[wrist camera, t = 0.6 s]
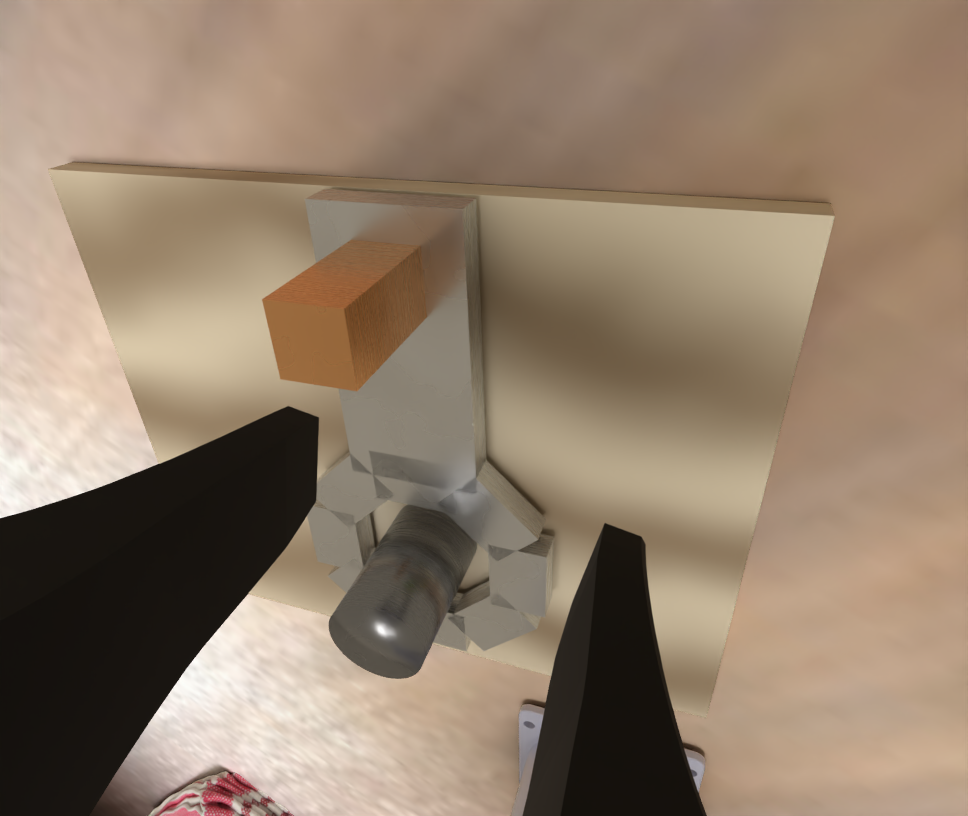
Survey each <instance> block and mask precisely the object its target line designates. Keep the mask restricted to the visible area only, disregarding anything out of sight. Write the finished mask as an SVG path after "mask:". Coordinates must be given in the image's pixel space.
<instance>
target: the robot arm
mask: <svg viewBox="0 0 968 816" xmlns="http://www.w3.org/2000/svg"><path fill="white" fill-rule="evenodd" d="M318 435H319V417H317V416H314V415H312V414H309V413H306V412H303V411H301V410H298V409H295V408H293V407H290V406H287V407H285V408H282V409H280V410H278V411H275V412H273V413H271V414H269V415H267V416H264V417H262V418H260V419H258V420H256V421H254V422H252V423H249V424H247V425H245V426H243V427H241V428H239V429H237V430H234V431H232V432H230V433H228V434H226V435H224V436H222V437H219V438H217V439H215V440H213V441H210V442H208V443H206V444H204V445H201V446H199V447H197V448H195V449H193V450H190V451H188V452H186V453H184V454H181V455H179V456H177V457H175V458H172V459H170V460H167V461H165V462H162V463H160V464H157V465H155V466H152V467H150V468H148V469H145V470H143V471H140V472H138V473H135V474H133V475H130V476H128V477H125V478H123V479H120V480H118V481H115V482H113V483H110V484H107V485H105V486H102V487H99V488H96V489H94V490H91V491H88V492H85V493H82V494H79V495H76V496H73V497H70V498H67V499H64V500H61V501H58V502H55V503H52V504H48V505H45V506H42V507H39V508H36V509H32V510H29V511H26V512H22V513H19V514H15V515H11V516H7V517H4V518H0V816H89V815H90V813H91V812H92V810H93V809H94V807H95V805H96V804H97V802H98V801H99V799H100V797H101V796H102V794H103V793H104V791H105V789H106V788H107V786H108V785H109V783H110V781H111V780H112V778H113V777H114V775H115V773H116V772H117V770H118V769H119V767H120V766H121V764H122V763H123V761H124V760H125V758H126V757H127V755H128V754H129V752H130V751H131V749H132V748H133V746H134V745H135V743H136V742H137V740H138V739H139V737H140V735H141V734H142V732H143V731H144V729H145V728H146V726H147V725H148V723H149V722H150V720H151V719H152V717H153V716H154V714H155V713H156V712H157V710H158V709H159V707H160V706H161V704H162V703H163V701H164V700H165V699H166V697H167V696H168V694H169V693H170V691H171V690H172V688H173V687H174V686H175V684H176V683H177V681H178V680H179V678H180V677H181V675H182V674H183V673H184V671H185V670H186V668H187V667H188V666H189V664H190V663H191V662H192V661H193V659H194V658H195V657H196V655H197V654H198V653H199V652H200V650H201V649H202V648H203V646H204V645H205V644H206V643H207V642H208V641H209V639H210V638H211V637H212V636H213V635H214V633H215V632H216V631H217V630H218V629H219V628H220V626H221V625H222V624H223V623H224V622H225V620H226V619H227V618H228V617H229V616H230V614H231V613H232V612H233V611H234V610H235V609H236V607H237V606H238V605H239V604H240V603H241V601H242V600H243V599H244V598H245V597H246V596H247V594H248V593H249V592H250V591H251V590H252V588H253V587H254V586H255V585H256V584H257V583H258V581H259V580H260V579H261V578H262V577H263V575H264V574H265V573H266V572H267V571H268V569H269V568H270V567H271V566H272V564H273V563H274V562H275V561H276V560H277V558H278V557H279V556H280V555H281V554H282V552H283V551H284V550H285V549H286V547H287V546H288V544H289V543H290V541H291V540H292V538H293V537H294V535H295V534H296V532H297V531H298V529H299V528H300V526H301V525H302V523H303V521H304V520H305V518H306V517H307V515H308V513H309V512H310V510H311V509H312V507H313V505H314V504H315V502H316V497H317V466H318ZM704 771H705V758H704V757H703V756H702V755H701V754H699V753H698V752H695V751H692V750H688V749H685V748H684V747H683V743H682V740H681V736H680V733H679V730H678V726H677V722H676V719H675V715H674V711H673V707H672V703H671V700H670V696H669V692H668V688H667V684H666V679H665V675H664V671H663V666H662V661H661V656H660V652H659V647H658V642H657V637H656V632H655V626H654V621H653V615H652V608H651V601H650V594H649V586H648V577H647V566H646V544H645V542H644V540H643V538H642V536H639V535H636V534H634V533H631V532H628V531H625V530H623V529H620V528H617V527H615V526H612V525H609V524H606V523H604V526H603V528H602V530H601V533H600V535H599V538H598V540H597V543H596V545H595V548H594V550H593V552H592V555H591V557H590V560H589V562H588V565H587V567H586V569H585V572H584V574H583V577H582V579H581V582H580V584H579V587H578V589H577V591H576V594H575V596H574V599H573V601H572V604H571V608H570V611H569V614H568V617H567V620H566V624H565V627H564V630H563V633H562V637H561V640H560V643H559V646H558V650H557V653H556V656H555V660H554V665H553V670H552V675H551V680H550V685H549V690H548V695H547V700H546V705H545V708H542V707H538V706H535V705H531V704H524V705H522V706H521V709H520V712H519V788H518V791H517V795H516V798H515V802H514V805H513V809H512V812H511V816H707V815H706V813H705V810H704V807H703V804H702V802H701V799H700V796H699V789H700V785H701V782H702V778H703V774H704Z"/></svg>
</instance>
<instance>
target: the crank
mask: <svg viewBox="0 0 968 816" xmlns="http://www.w3.org/2000/svg"><path fill="white" fill-rule="evenodd" d="M305 204H306V209H307V215H308V221H309V226H310V232H311V238H312V243H313V249H314V254H315V260H316V264H314V265H313V266H311V267H310V268H308V269H307V270H305V271H304V272H302V273H301V274H299V275H298V276H296V277H295V278H293V279H292V280H290V281H289V282H287V283H286V284H284V285H283V286H281V287H280V288H278V289H277V290H275V291H274V292H272V293H271V294H269V295H268V296H266V297H265V298H263V299H262V302H263V306H264V311H265V315H266V319H267V324H268V328H269V332H270V337H271V341H272V345H273V349H274V354H275V358H276V362H277V367H278V371H279V375H280V379H282V380H288V381H294V382H301V383H307V384H313V385H320V386H326V387H332V388H338V389H339V395H340V401H341V406H342V412H343V417H344V423H345V429H346V434H347V440H348V446H349V451H348V452H347V453H346V454H345V455H344V456H343V457H341V458H340V459H339V460H338V461H337V462H336V463H334V464H333V465H332V466H331V467H330V468H329V469H327V470H326V471H325V472H324V473H323V474H322V475H321V476H320V477H319V478H318V480H317V497H316V502H315V504H314V505H313V507H312V509H311V510H310V512H309V513H308V515H307V518H308V522H309V526H310V530H311V535H312V539H313V543H314V547H315V551H316V556H317V560H318V562H321V563H326V564H330V565H334V568H333V569H332V571H331V572H330V573H329V575H328V577H329V578H330V579H331V580H332V581H334V582H335V583H336V584H337V585H338V586H339V587H340V588H341V589H343V590H344V591H345V592H346V593H347V591H348V590H349V588H350V587H351V585H352V584H353V582H354V581H355V579H356V578H357V576H358V574H359V573H360V571H361V570H362V568H363V567H364V565H365V564H366V562H367V561H368V559H369V558H370V556H371V555H372V553H373V552H374V550H375V548H376V547H375V544H374V538H373V532H372V526H371V520H370V513H371V512H372V511H374V510H375V509H376V508H378V507H379V506H381V505H382V504H383V503H385V502H386V501H387V500H389V501H394V502H399V503H403V504H408V505H413V506H418V507H423V508H427V509H432V510H437V511H442V512H445V513H446V514H447V515H448V516H449V517H450V518H451V519H453V520H454V521H455V522H456V523H457V524H458V525H459V526H460V527H461V528H462V529H463V530H464V531H465V532H466V533H467V534H468V535H469V536H470V537H471V538H472V539H473V540H475V541H476V542H477V543H478V544H479V545H480V546H481V547H482V548H483V549H484V550H485V551H486V552H487V553H488V558H489V581H487V582H485V583H483V584H481V585H479V586H477V587H475V588H474V589H472V590H470V591H468V592H466V593H464V594H461V593H456V595H455V597H454V599H453V601H452V604H451V606H450V608H449V610H448V612H447V614H446V616H445V618H444V620H443V622H442V625H441V627H440V629H439V631H438V633H437V635H436V637H435V639H434V641H433V643H437V644H441V645H444V646H448V647H452V648H455V649H459V650H463V651H466V652H467V649H468V647H469V645H470V642H471V640H472V641H473V642H474V643H475V644H476V645H477V646H478V647H480V648H481V649H482V650H483V651H486V650H488V649H491V648H493V647H495V646H498V645H500V644H502V643H505V642H507V641H510V640H512V639H514V638H517V637H519V636H521V635H524V634H526V633H528V632H531V631H533V630H536V629H537V627H538V624H539V621H540V618H541V617H546V614H547V610H548V607H549V604H550V601H551V598H552V585H553V556H554V536H549V535H544V534H541V531H542V528H543V526H544V523H545V520H546V518H545V517H543V516H542V515H541V514H540V513H539V512H538V511H537V510H536V509H535V508H534V507H533V506H532V505H531V504H530V503H529V502H528V501H527V500H526V499H525V498H524V497H523V496H522V495H521V494H520V493H519V492H518V491H517V490H516V489H515V488H514V487H513V486H512V485H511V484H510V483H509V482H508V481H507V480H506V479H505V478H504V477H503V476H502V475H501V474H500V473H499V472H498V471H497V470H496V469H495V468H494V467H493V466H492V465H491V464H490V463H489V462H488V461H487V460H486V435H485V409H484V383H483V357H482V331H481V305H480V279H479V253H478V227H477V201H476V198H466V197H450V196H433V195H417V194H401V193H384V192H368V191H351V190H335V189H323V190H321V191H319V192H317V193H315V194H313V195H311V196H309V197H307V198H305Z"/></svg>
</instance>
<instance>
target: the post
mask: <svg viewBox="0 0 968 816" xmlns="http://www.w3.org/2000/svg"><path fill="white" fill-rule="evenodd" d="M476 550H477V542H476V541H475V540H473V539H472V538H471V537H470V536H469V535H468V534H467V533H466V532H465V531H464V530H463V529H462V528H461V527H460V526H459V525H458V524H457V523H456V522H455V521H454V520H453V519H451V518H450V517H449V516H448V515H447V514H446V513H445V512H442V511H437V510H432V509H427V508H423V507H418V506H413V505H406V506H404V507H403V508H402V509H401V510H400V512H399V513H398V515H397V516H396V518H395V519H394V521H393V522H392V524H391V526H390V527H389V529H388V530H387V532H386V533H385V535H384V536H383V538H382V539H381V541H380V542H379V544H378V545H377V547H376V548H375V550H374V552H373V553H372V555H371V556H370V558H369V559H368V561H367V562H366V564H365V565H364V567H363V568H362V570H361V571H360V573H359V574H358V576H357V578H356V579H355V581H354V582H353V584H352V585H351V587H350V588H349V590H348V591H347V593H346V594H345V596H344V597H343V599H342V600H341V602H340V604H339V605H338V607H337V608H336V610H335V611H334V613H333V614H332V616H331V618H330V620H329V631H330V634H331V637H332V639H333V641H334V643H335V644H336V646H337V647H338V648H339V649H340V650H341V652H342V653H343V654H344V655H345V656H346V657H348V658H349V659H350V660H351V661H353V662H354V663H355V664H357V665H358V666H360V667H362V668H363V669H365V670H367V671H369V672H372V673H374V674H377V675H380V676H383V677H388V678H396V679H401V678H408V677H411V676H413V675H415V674H416V673H417V672H418V671H419V670H420V669H421V667H422V664H423V662H424V660H425V658H426V656H427V654H428V652H429V650H430V648H431V646H432V643H433V641H434V639H435V637H436V635H437V633H438V631H439V629H440V627H441V625H442V622H443V620H444V618H445V616H446V614H447V612H448V610H449V608H450V606H451V604H452V601H453V599H454V597H455V595H456V593H457V591H458V589H459V587H460V585H461V583H462V581H463V578H464V576H465V574H466V572H467V570H468V568H469V566H470V564H471V562H472V560H473V557H474V555H475V553H476Z"/></svg>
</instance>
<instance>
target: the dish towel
mask: <svg viewBox="0 0 968 816" xmlns="http://www.w3.org/2000/svg"><path fill="white" fill-rule="evenodd" d="M149 816H294V815H292V814H291V813H290V812H289V811H288V810H287V809H286V808H285V807H283V806H282V805H280V804H279V803H277V802H275V801H274V800H272V799H271V798H270V797H269V796H268V795H266V794H265V793H263V792H262V791H260V790H258V789H256V788H255V787H253V786H252V785H251V784H250V783H249V782H247V781H246V780H245V779H244V778H242V777H241V776H240V775H238V774H237V773H235V772H234V773H232V774H229V773H228V772H226V771H225V772H221V773H219V774H217V775H213V776H208V777H206V778H204V779H200V780H197V781H195V782H194V783H192V784H190V785H188V786H187V787H185V788H184V789H183V790H181V791H179V792H178V793H175V794H173V795H171V796H169V797H168V798H167V799H166V800H165V801H164V802H163V803H162V804H161V805H160V806H159V807H157V808H155V809H154V810H153V811H152V812H151V814H150V815H149Z"/></svg>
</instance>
